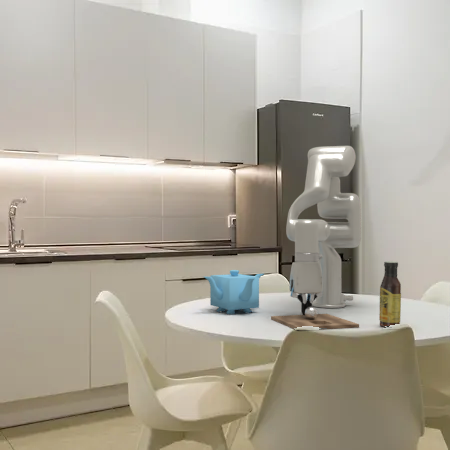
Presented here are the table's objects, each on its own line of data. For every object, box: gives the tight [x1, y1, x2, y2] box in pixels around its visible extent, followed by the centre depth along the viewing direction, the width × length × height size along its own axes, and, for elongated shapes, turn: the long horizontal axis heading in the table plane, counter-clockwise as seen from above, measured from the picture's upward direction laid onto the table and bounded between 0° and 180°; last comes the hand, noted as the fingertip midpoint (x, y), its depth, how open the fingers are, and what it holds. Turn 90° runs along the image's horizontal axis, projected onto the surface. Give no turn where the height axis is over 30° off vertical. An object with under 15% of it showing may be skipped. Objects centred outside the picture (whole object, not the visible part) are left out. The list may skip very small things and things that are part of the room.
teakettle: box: [203, 269, 265, 315], centre depth 220 cm, size 19×19×15 cm
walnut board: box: [270, 313, 360, 330], centre depth 195 cm, size 20×22×1 cm
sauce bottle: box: [378, 260, 402, 328], centre depth 189 cm, size 7×6×20 cm
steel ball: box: [305, 306, 319, 319], centre depth 197 cm, size 4×4×4 cm
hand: (306, 315), depth 200 cm, fingers closed
